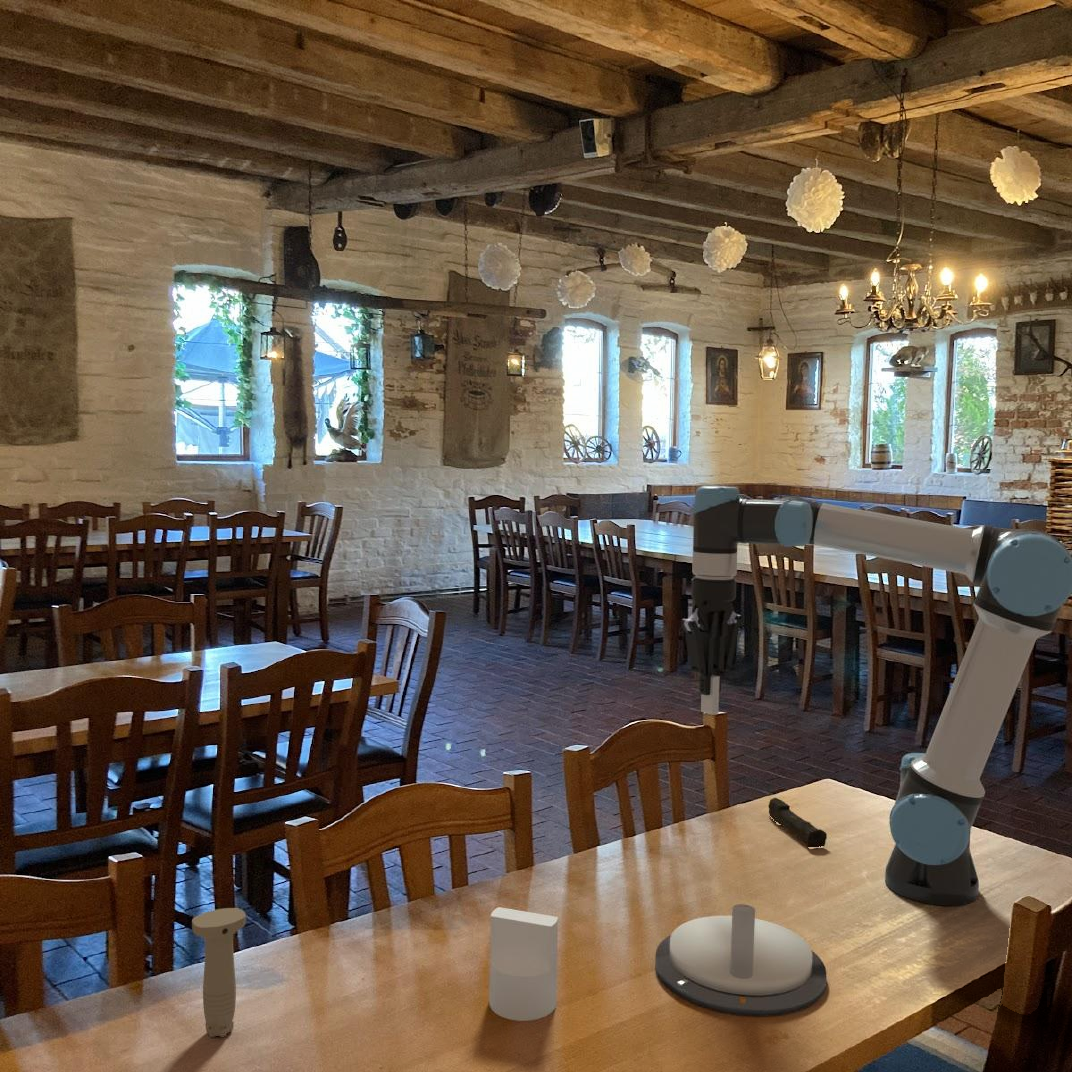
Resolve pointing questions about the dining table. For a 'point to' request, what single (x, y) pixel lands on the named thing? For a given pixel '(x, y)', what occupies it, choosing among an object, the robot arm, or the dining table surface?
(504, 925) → the cylinder with rectangular tab
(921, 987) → the dining table surface
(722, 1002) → the dial base
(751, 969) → the dial
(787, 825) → the hand tool
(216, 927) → the handle
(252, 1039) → the dining table surface
